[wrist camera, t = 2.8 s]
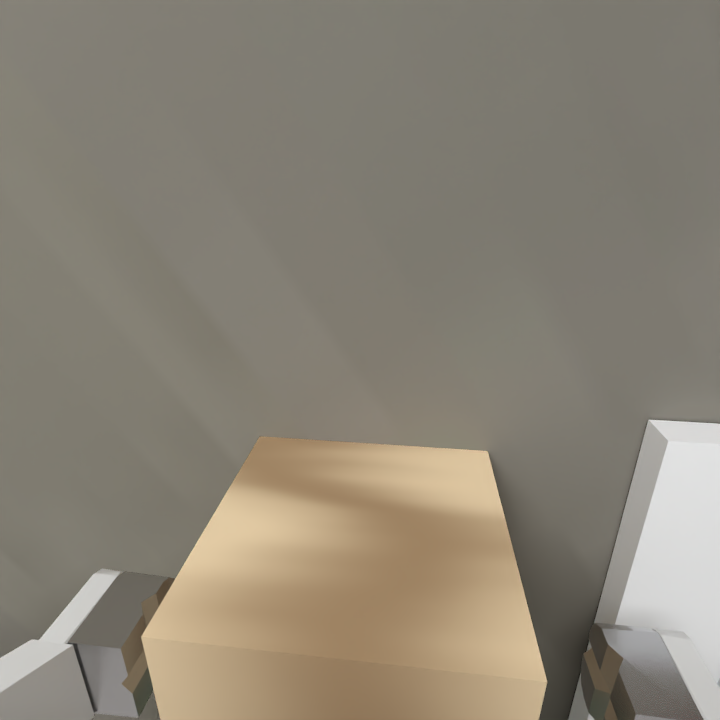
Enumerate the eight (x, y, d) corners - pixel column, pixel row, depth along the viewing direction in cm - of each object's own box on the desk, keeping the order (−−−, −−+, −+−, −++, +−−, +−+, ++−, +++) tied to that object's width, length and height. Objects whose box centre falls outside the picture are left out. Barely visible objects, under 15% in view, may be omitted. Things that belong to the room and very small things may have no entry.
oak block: (274, 598, 12) (190, 849, 8) (260, 434, 11) (141, 636, 6) (466, 617, 12) (498, 897, 7) (487, 449, 10) (547, 681, 5)
